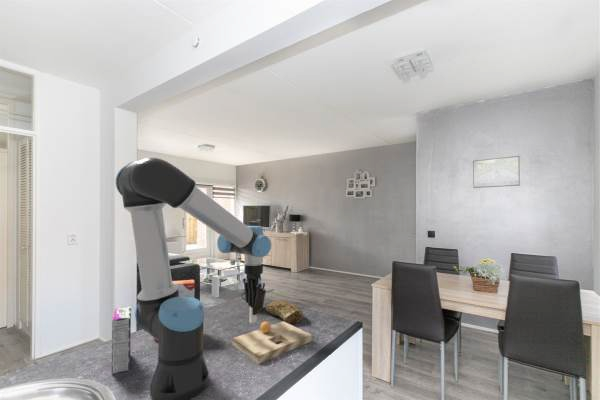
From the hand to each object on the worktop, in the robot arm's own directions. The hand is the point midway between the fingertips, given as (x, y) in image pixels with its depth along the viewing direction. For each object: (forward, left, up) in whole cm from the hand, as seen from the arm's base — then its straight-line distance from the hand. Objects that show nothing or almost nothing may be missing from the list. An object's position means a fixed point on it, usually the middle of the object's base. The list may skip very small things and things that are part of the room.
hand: (253, 321), depth 117 cm
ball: (0, -9, +1) cm, 9 cm away
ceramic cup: (+14, +21, -4) cm, 26 cm away
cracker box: (-25, +17, -4) cm, 31 cm away
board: (0, -13, -4) cm, 14 cm away
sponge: (+20, +4, -4) cm, 21 cm away
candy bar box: (-45, +7, -4) cm, 46 cm away
